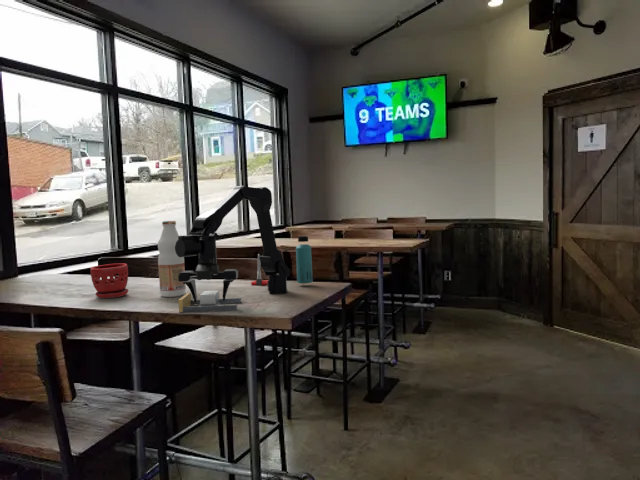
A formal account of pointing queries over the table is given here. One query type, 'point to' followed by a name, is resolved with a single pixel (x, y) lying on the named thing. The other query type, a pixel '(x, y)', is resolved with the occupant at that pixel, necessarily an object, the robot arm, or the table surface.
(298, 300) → the table surface
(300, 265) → the beverage bottle
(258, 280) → the receipt spike
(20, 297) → the table surface
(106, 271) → the plant pot
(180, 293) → the fruit juice
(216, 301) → the aluminium lock block
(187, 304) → the guide rails
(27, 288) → the table surface
